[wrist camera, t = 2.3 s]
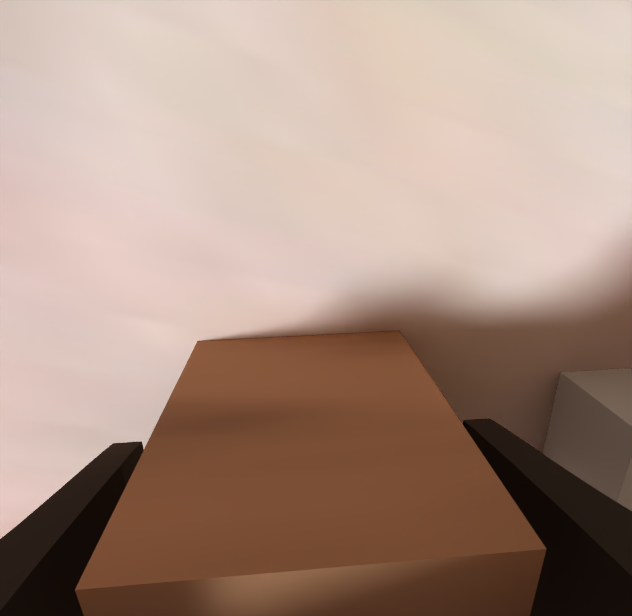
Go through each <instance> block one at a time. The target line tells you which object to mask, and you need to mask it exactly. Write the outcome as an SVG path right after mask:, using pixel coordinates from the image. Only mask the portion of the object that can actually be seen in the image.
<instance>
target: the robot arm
mask: <svg viewBox="0 0 632 616" xmlns="http://www.w3.org/2000/svg"><path fill="white" fill-rule="evenodd" d="M463 426H464V427H465V429H466V430H467V432H468V433H469V435H470V436H471V438H472V439H473V441H474V442H475V444H476V445H477V446H478V448H479V449H480V451H481V452H482V454H483V455H484V457H485V458H486V460H487V461H488V463H489V464H490V466H491V467H492V469H493V470H494V472H495V473H496V475H497V476H498V478H499V479H500V481H501V482H502V484H503V485H504V487H505V488H506V490H507V491H508V492H509V494H510V495H511V497H512V498H513V500H514V501H515V503H516V504H517V506H518V507H519V509H520V510H521V512H522V513H523V515H524V516H525V518H526V519H527V521H528V522H529V524H530V525H531V527H532V528H533V530H534V531H535V533H536V534H537V536H538V537H539V538H540V540H541V541H542V543H543V544H544V546H545V547H546V553H545V557H544V561H543V565H542V569H541V573H540V577H539V581H538V585H537V589H536V593H535V597H534V601H533V605H532V609H531V613H530V616H632V511H631V510H629V509H627V508H626V507H624V506H623V505H621V504H619V503H618V502H616V501H614V500H613V499H611V498H609V497H608V496H606V495H605V494H603V493H602V492H600V491H598V490H597V489H595V488H594V487H592V486H591V485H589V484H587V483H586V482H584V481H583V480H581V479H580V478H578V477H577V476H575V475H574V474H572V473H571V472H569V471H568V470H566V469H565V468H563V467H562V466H560V465H559V464H557V463H556V462H554V461H553V460H551V459H550V458H548V457H547V456H545V455H544V454H542V453H541V452H539V451H538V450H536V449H535V448H534V447H532V446H531V445H529V444H528V443H526V442H525V441H523V440H522V439H520V438H519V437H517V436H516V435H514V434H513V433H511V432H510V431H508V430H507V429H505V428H504V427H502V426H501V425H499V424H498V423H496V422H494V421H493V420H491V419H475V420H463ZM143 451H144V450H143V445H142V442H128V443H113V444H112V445H111V446H110V447H108V448H107V449H106V450H105V451H103V452H102V453H101V454H100V455H99V456H97V457H96V458H95V459H94V460H93V461H92V462H90V463H89V464H88V465H87V466H86V467H85V468H84V469H82V470H81V471H80V472H79V473H78V474H77V475H76V476H74V477H73V478H72V479H71V480H70V481H69V482H67V483H66V484H65V485H64V486H63V487H62V488H61V489H59V490H58V491H57V492H56V493H55V494H54V495H52V496H51V497H50V498H49V499H48V500H47V501H45V502H44V503H43V504H42V505H41V506H40V507H38V508H37V509H36V510H35V511H34V512H33V513H31V514H30V515H29V516H28V517H27V518H26V519H24V520H23V521H22V522H21V523H20V524H18V525H17V526H16V527H15V528H14V529H12V530H11V531H10V532H9V533H7V534H6V535H5V536H4V537H2V538H1V539H0V616H84V615H83V612H82V609H81V606H80V603H79V601H78V598H77V595H76V592H75V589H76V587H77V585H78V583H79V580H80V578H81V576H82V574H83V572H84V570H85V568H86V566H87V564H88V562H89V560H90V558H91V556H92V554H93V552H94V550H95V548H96V546H97V544H98V542H99V540H100V538H101V536H102V534H103V532H104V530H105V528H106V526H107V524H108V522H109V520H110V518H111V516H112V514H113V512H114V510H115V508H116V506H117V504H118V501H119V499H120V497H121V495H122V493H123V491H124V489H125V487H126V485H127V483H128V481H129V479H130V477H131V475H132V473H133V471H134V469H135V467H136V465H137V463H138V461H139V459H140V457H141V455H142V453H143Z"/></svg>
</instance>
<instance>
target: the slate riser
mask: <svg viewBox="0 0 632 616" xmlns="http://www.w3.org/2000/svg"><path fill="white" fill-rule="evenodd" d="M542 454H544V455H545V456H547V457H548V458H550V459H551V460H553V461H554V462H556V463H557V464H559V465H560V466H562V467H563V468H565V469H566V470H568V471H569V472H571V473H572V474H574V475H575V476H577V477H578V478H580V479H581V480H583V481H584V482H586V483H587V484H589V485H591V486H592V487H594V488H595V489H597V490H598V491H600V492H602V493H603V494H605V495H606V496H608V497H609V498H611V499H613V500H614V501H616V502H618V503H619V504H621V505H623V506H624V507H626V508H627V509H629V510H631V511H632V368H622V369H605V370H588V371H570V372H560V376H559V381H558V385H557V390H556V394H555V399H554V403H553V408H552V412H551V417H550V421H549V426H548V430H547V435H546V439H545V444H544V448H543V453H542Z"/></svg>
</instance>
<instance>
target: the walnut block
mask: <svg viewBox="0 0 632 616" xmlns="http://www.w3.org/2000/svg"><path fill="white" fill-rule="evenodd" d="M545 553H546V547H545V546H544V544H543V543H542V541H541V540H540V538H539V537H538V536H537V534H536V533H535V531H534V530H533V528H532V527H531V525H530V524H529V522H528V521H527V519H526V518H525V516H524V515H523V513H522V512H521V510H520V509H519V507H518V506H517V504H516V503H515V501H514V500H513V498H512V497H511V495H510V494H509V492H508V491H507V490H506V488H505V487H504V485H503V484H502V482H501V481H500V479H499V478H498V476H497V475H496V473H495V472H494V470H493V469H492V467H491V466H490V464H489V463H488V461H487V460H486V458H485V457H484V455H483V454H482V452H481V451H480V449H479V448H478V446H477V445H476V444H475V442H474V441H473V439H472V438H471V436H470V435H469V433H468V432H467V430H466V429H465V427H464V426H463V424H462V423H461V421H460V420H459V418H458V417H457V415H456V414H455V412H454V411H453V409H452V408H451V406H450V405H449V403H448V402H447V400H446V399H445V398H444V396H443V395H442V393H441V392H440V390H439V389H438V387H437V386H436V384H435V383H434V381H433V380H432V378H431V377H430V375H429V374H428V372H427V371H426V369H425V368H424V366H423V365H422V363H421V362H420V360H419V359H418V357H417V356H416V354H415V353H414V352H413V350H412V349H411V347H410V346H409V344H408V343H407V341H406V340H405V338H404V337H403V335H402V334H401V332H400V331H382V332H363V333H344V334H325V335H306V336H287V337H268V338H249V339H230V340H211V341H197V343H196V345H195V348H194V350H193V352H192V354H191V356H190V358H189V360H188V362H187V364H186V366H185V368H184V370H183V372H182V374H181V376H180V378H179V380H178V382H177V384H176V386H175V388H174V390H173V392H172V394H171V396H170V398H169V400H168V402H167V404H166V406H165V408H164V410H163V412H162V414H161V416H160V418H159V420H158V422H157V424H156V427H155V429H154V431H153V433H152V435H151V437H150V439H149V441H148V443H147V445H146V447H145V449H144V451H143V453H142V455H141V457H140V459H139V461H138V463H137V465H136V467H135V469H134V471H133V473H132V475H131V477H130V479H129V481H128V483H127V485H126V487H125V489H124V491H123V493H122V495H121V497H120V499H119V501H118V504H117V506H116V508H115V510H114V512H113V514H112V516H111V518H110V520H109V522H108V524H107V526H106V528H105V530H104V532H103V534H102V536H101V538H100V540H99V542H98V544H97V546H96V548H95V550H94V552H93V554H92V556H91V558H90V560H89V562H88V564H87V566H86V568H85V570H84V572H83V574H82V576H81V578H80V580H79V583H78V585H77V587H76V589H75V592H76V595H77V598H78V601H79V603H80V606H81V609H82V612H83V615H84V616H530V613H531V609H532V605H533V601H534V597H535V593H536V589H537V585H538V581H539V577H540V573H541V569H542V565H543V561H544V557H545Z"/></svg>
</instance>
